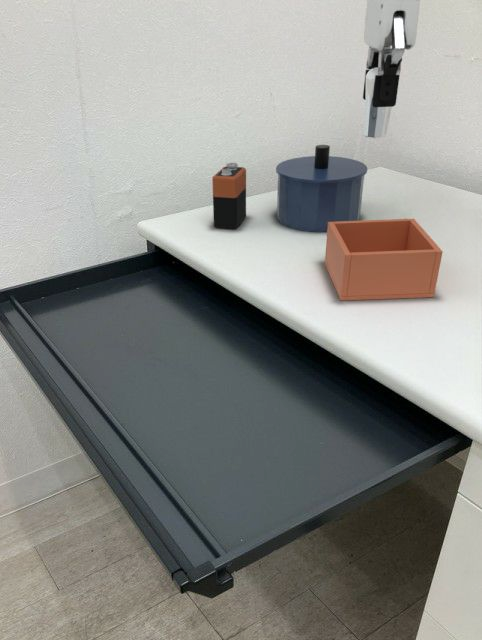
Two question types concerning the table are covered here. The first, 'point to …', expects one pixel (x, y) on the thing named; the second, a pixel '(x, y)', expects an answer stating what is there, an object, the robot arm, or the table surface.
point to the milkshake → (374, 111)
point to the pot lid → (321, 168)
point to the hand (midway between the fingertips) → (378, 101)
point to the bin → (381, 259)
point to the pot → (318, 203)
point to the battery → (229, 196)
